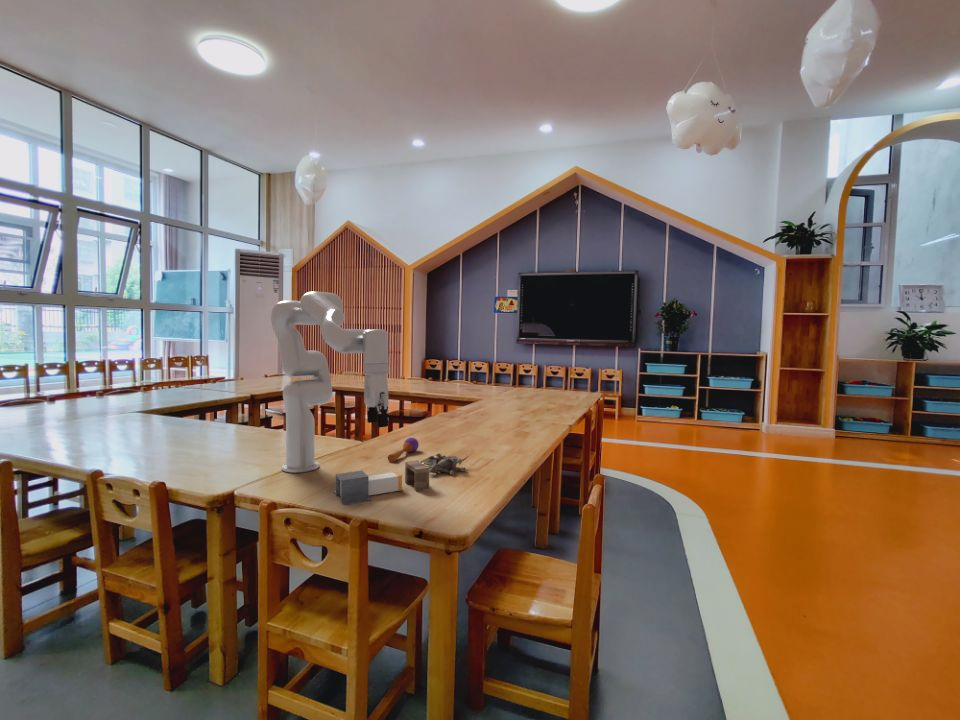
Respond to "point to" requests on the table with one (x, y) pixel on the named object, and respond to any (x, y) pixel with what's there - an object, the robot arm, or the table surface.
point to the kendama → (404, 449)
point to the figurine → (443, 463)
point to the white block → (383, 483)
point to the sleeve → (352, 487)
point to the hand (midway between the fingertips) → (377, 424)
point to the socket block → (417, 475)
